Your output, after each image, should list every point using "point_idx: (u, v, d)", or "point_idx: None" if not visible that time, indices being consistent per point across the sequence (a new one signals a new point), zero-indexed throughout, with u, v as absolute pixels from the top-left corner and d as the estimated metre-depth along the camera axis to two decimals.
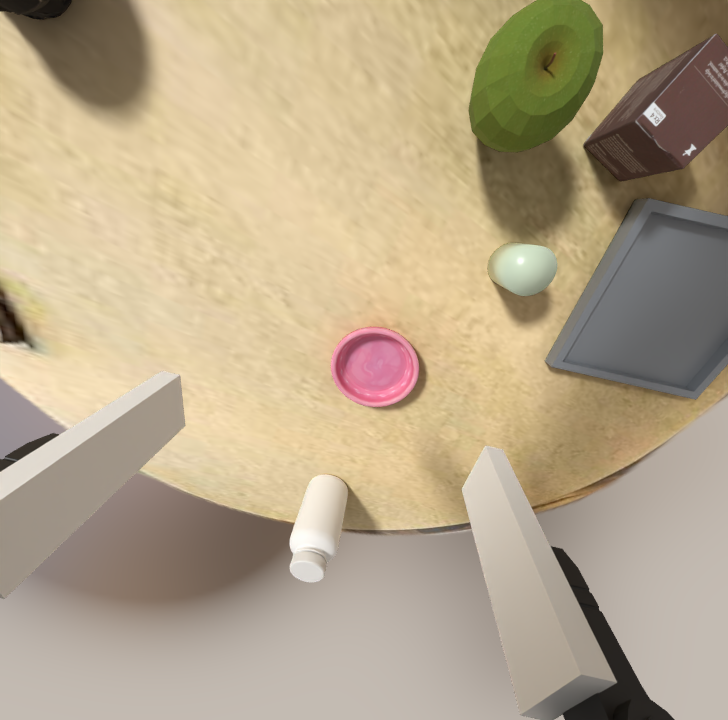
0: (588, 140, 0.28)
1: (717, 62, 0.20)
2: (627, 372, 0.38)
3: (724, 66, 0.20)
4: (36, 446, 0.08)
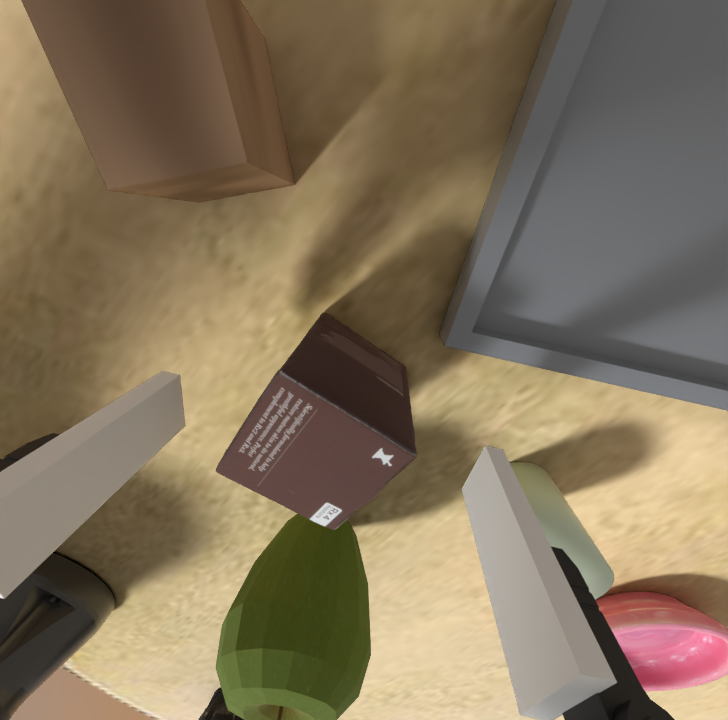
0: None
1: (248, 459, 0.11)
2: None
3: (252, 448, 0.11)
4: (36, 446, 0.08)
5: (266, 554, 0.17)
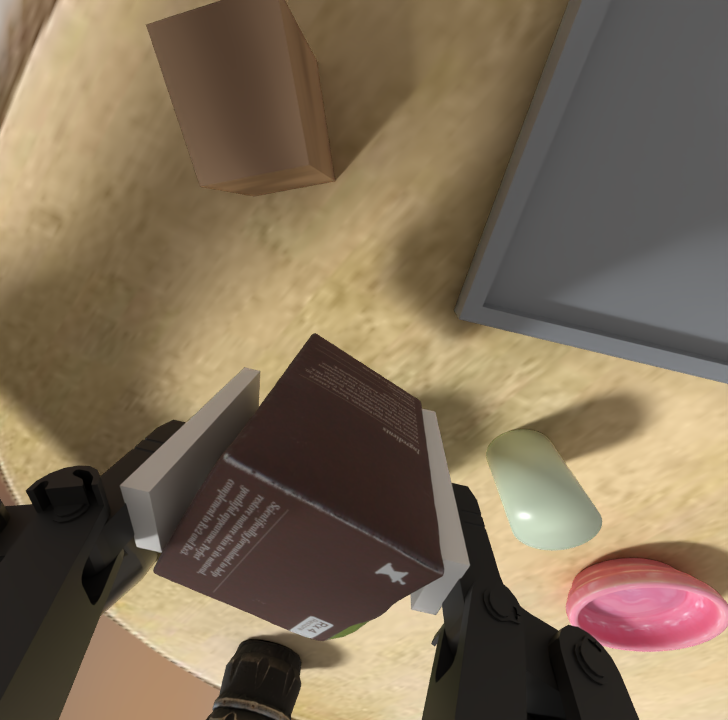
0: None
1: (195, 562, 0.07)
2: None
3: (197, 550, 0.07)
4: (165, 429, 0.10)
5: None
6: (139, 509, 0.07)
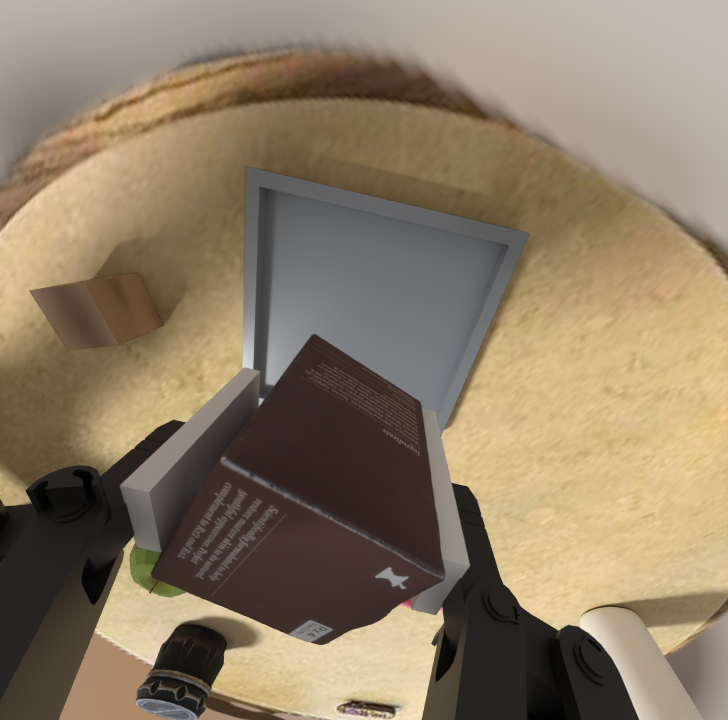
0: None
1: (193, 566, 0.07)
2: (460, 344, 0.24)
3: (195, 554, 0.07)
4: (165, 430, 0.10)
5: None
6: (140, 509, 0.07)
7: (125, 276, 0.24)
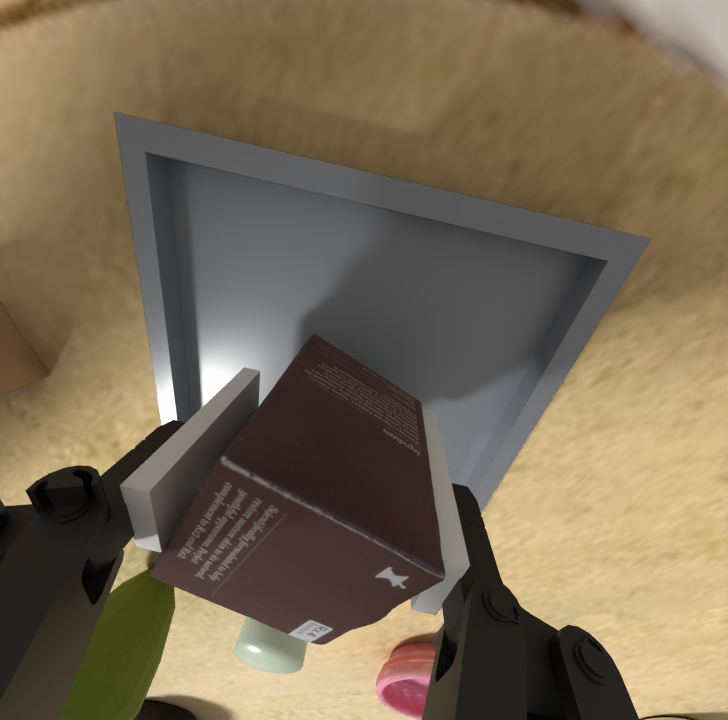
0: None
1: (193, 566, 0.07)
2: (500, 412, 0.15)
3: (195, 554, 0.07)
4: (165, 429, 0.10)
5: None
6: (139, 509, 0.07)
7: None
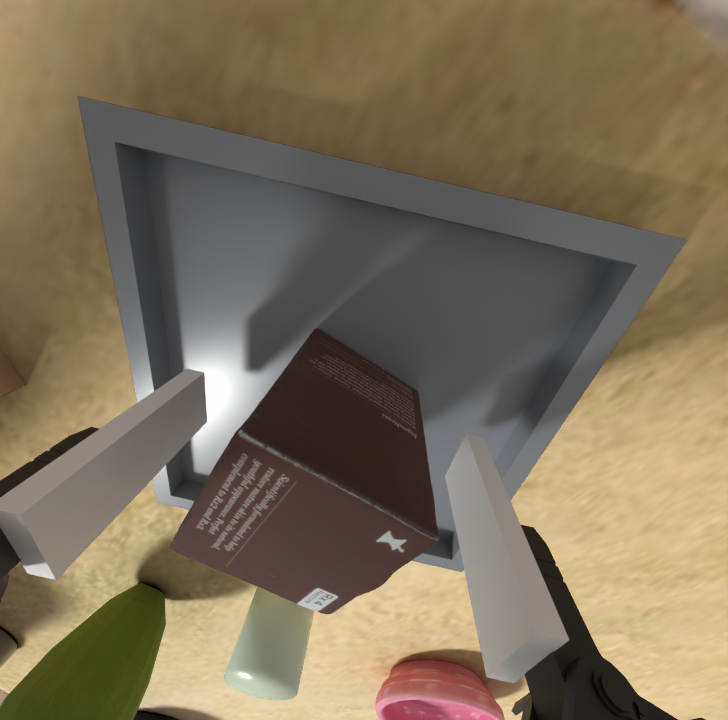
0: None
1: (210, 537, 0.08)
2: (509, 428, 0.14)
3: (212, 525, 0.08)
4: (77, 438, 0.09)
5: (58, 644, 0.21)
6: (16, 533, 0.06)
7: None
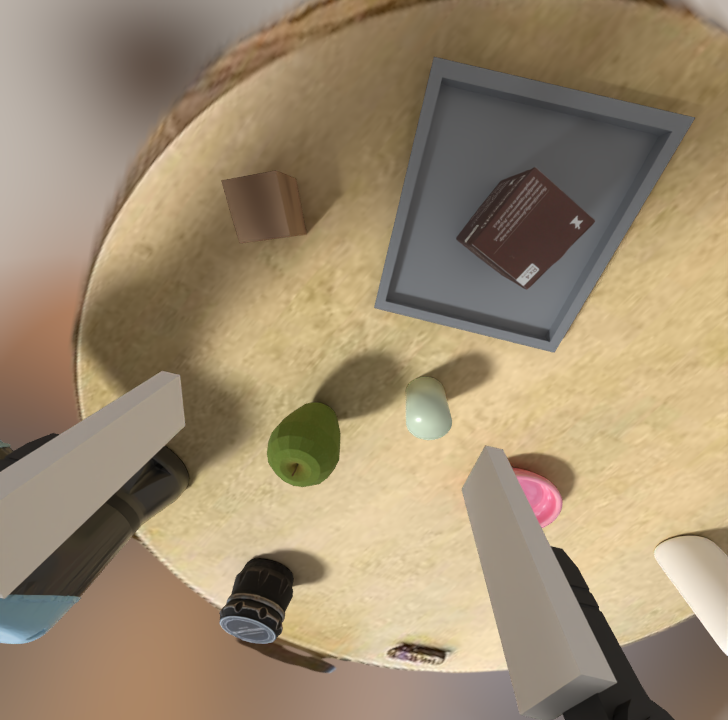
0: None
1: (496, 232, 0.20)
2: (595, 244, 0.26)
3: (501, 223, 0.20)
4: (36, 445, 0.08)
5: None
6: None
7: (291, 177, 0.26)
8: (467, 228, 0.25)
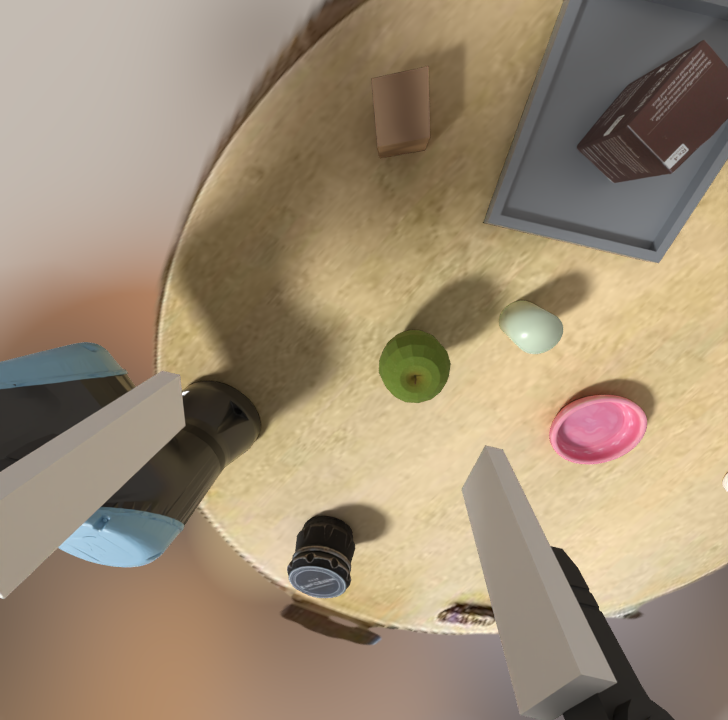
0: (617, 181, 0.29)
1: (654, 111, 0.22)
2: (709, 149, 0.28)
3: (660, 101, 0.21)
4: (36, 446, 0.08)
5: None
6: None
7: None
8: (596, 130, 0.26)
